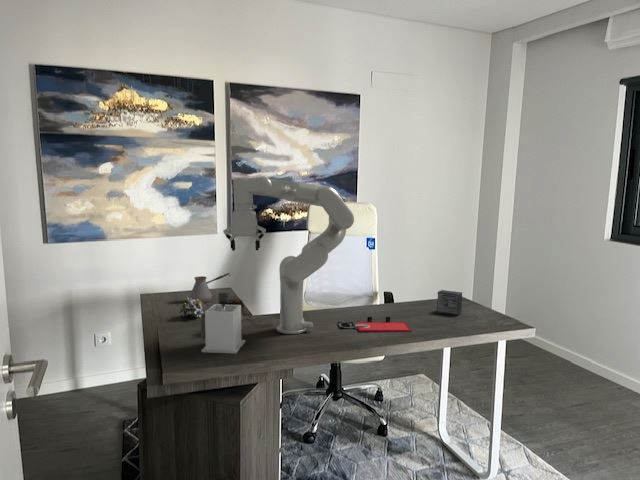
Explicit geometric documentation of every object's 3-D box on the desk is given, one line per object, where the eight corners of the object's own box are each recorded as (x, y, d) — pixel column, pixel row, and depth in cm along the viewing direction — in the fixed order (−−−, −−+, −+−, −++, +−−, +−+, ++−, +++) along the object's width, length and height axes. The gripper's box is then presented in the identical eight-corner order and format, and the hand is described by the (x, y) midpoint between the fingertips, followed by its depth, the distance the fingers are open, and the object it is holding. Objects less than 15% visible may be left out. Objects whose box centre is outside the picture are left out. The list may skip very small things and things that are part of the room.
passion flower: (199, 329, 217) (200, 312, 210) (175, 325, 216) (176, 308, 209) (205, 310, 226) (206, 294, 218) (182, 306, 225) (182, 290, 217)
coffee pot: (188, 304, 242) (187, 275, 240) (191, 299, 253) (190, 271, 251) (230, 303, 244) (229, 275, 242) (231, 298, 255) (231, 271, 254)
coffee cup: (234, 335, 192) (233, 304, 191) (219, 331, 197) (218, 301, 195) (248, 329, 200) (247, 299, 198) (233, 326, 204) (233, 297, 202)
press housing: (245, 341, 184) (244, 304, 182) (236, 353, 171) (235, 313, 169) (208, 340, 185) (207, 303, 184) (196, 351, 172) (195, 312, 171)
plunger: (237, 341, 182) (236, 290, 179) (231, 348, 173) (230, 295, 171) (216, 340, 182) (216, 290, 180) (210, 347, 174) (208, 295, 172)
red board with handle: (337, 322, 212) (341, 333, 197) (337, 316, 211) (341, 327, 196) (402, 322, 214) (411, 333, 199) (403, 316, 213) (411, 327, 199)
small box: (462, 313, 229) (462, 292, 228) (458, 316, 224) (459, 294, 223) (440, 309, 235) (441, 289, 234) (436, 312, 229) (437, 291, 228)
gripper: (266, 207, 193) (267, 248, 195) (224, 208, 194) (226, 249, 196) (263, 208, 186) (265, 251, 188) (220, 209, 186) (222, 251, 188)
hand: (245, 250), depth 192 cm, fingers open, 9 cm apart
